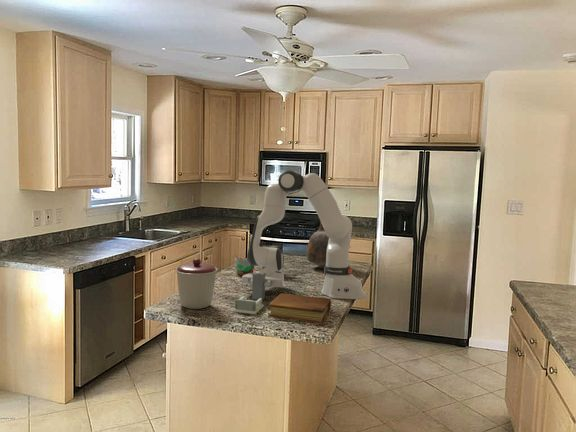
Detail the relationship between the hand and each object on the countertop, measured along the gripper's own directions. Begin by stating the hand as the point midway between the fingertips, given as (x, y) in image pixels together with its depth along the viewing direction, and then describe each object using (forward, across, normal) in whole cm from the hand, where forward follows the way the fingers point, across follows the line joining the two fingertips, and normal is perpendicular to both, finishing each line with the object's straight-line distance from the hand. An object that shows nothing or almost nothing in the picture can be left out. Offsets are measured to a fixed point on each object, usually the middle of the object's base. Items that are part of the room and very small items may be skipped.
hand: (258, 284), depth 219 cm
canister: (+19, -22, +7) cm, 30 cm away
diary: (+12, +23, +8) cm, 27 cm away
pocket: (+15, +1, +7) cm, 17 cm away
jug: (-79, +17, +8) cm, 81 cm away
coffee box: (-53, -9, +8) cm, 54 cm away
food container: (-41, -22, +8) cm, 47 cm away
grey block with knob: (-1, 0, +7) cm, 7 cm away
